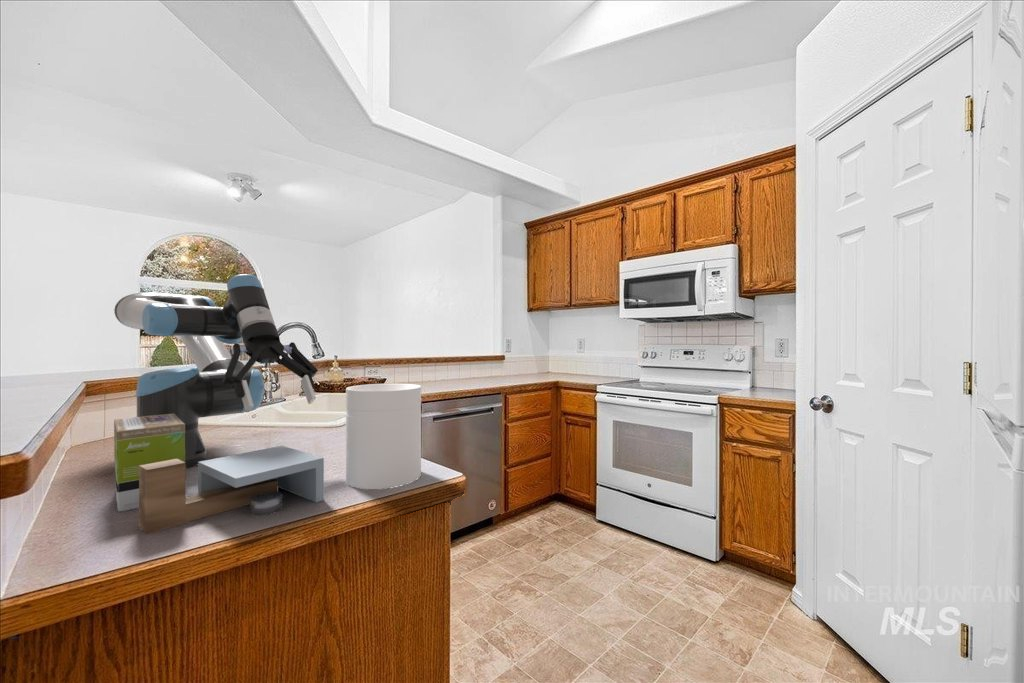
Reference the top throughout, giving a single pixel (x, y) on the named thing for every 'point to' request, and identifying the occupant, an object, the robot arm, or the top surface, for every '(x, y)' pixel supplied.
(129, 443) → the tea box
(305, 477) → the low shelf
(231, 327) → the robot arm
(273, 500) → the steel puck
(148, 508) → the wooden l-shaped block
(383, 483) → the canister
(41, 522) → the top surface
